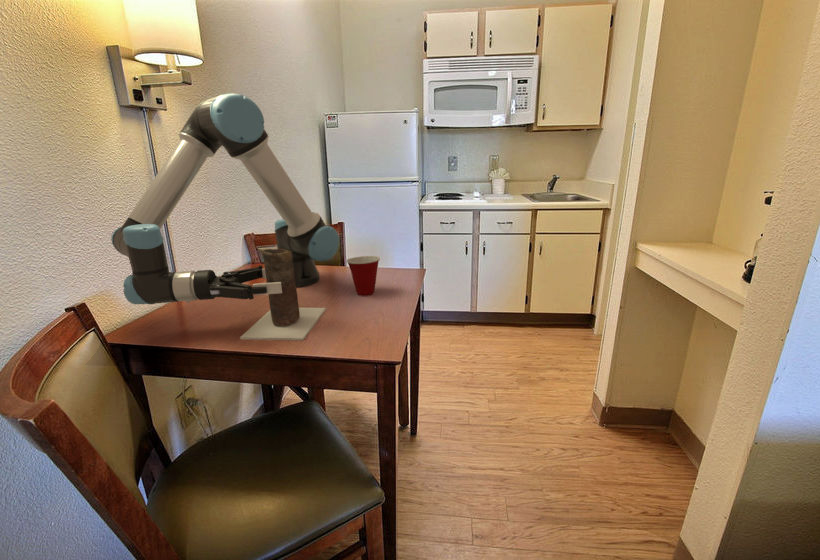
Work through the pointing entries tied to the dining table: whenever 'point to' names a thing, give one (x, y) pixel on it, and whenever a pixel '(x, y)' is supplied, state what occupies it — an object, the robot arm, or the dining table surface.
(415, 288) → the dining table surface
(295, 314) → the brown rough cylinder
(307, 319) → the mat
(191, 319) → the dining table surface
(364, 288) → the plastic cup
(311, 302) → the dining table surface
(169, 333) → the dining table surface
